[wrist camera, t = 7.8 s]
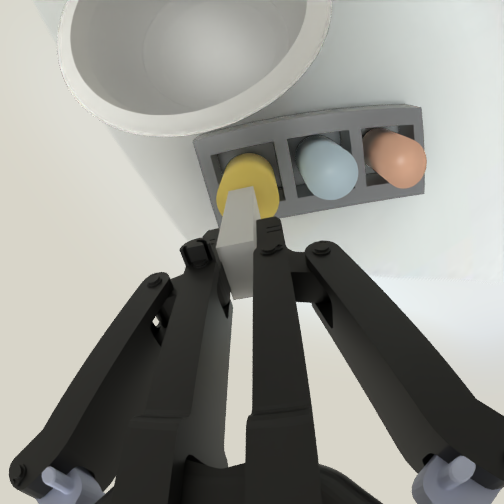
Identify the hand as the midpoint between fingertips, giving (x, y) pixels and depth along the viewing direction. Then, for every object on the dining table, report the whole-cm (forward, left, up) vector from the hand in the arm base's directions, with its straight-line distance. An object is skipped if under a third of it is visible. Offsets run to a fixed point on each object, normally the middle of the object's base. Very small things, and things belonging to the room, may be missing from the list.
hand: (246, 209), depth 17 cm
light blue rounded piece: (0, +6, -8) cm, 10 cm away
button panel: (0, +6, -9) cm, 11 cm away
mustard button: (0, 0, -6) cm, 6 cm away
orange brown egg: (0, +12, -8) cm, 15 cm away
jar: (-11, 0, -9) cm, 14 cm away
